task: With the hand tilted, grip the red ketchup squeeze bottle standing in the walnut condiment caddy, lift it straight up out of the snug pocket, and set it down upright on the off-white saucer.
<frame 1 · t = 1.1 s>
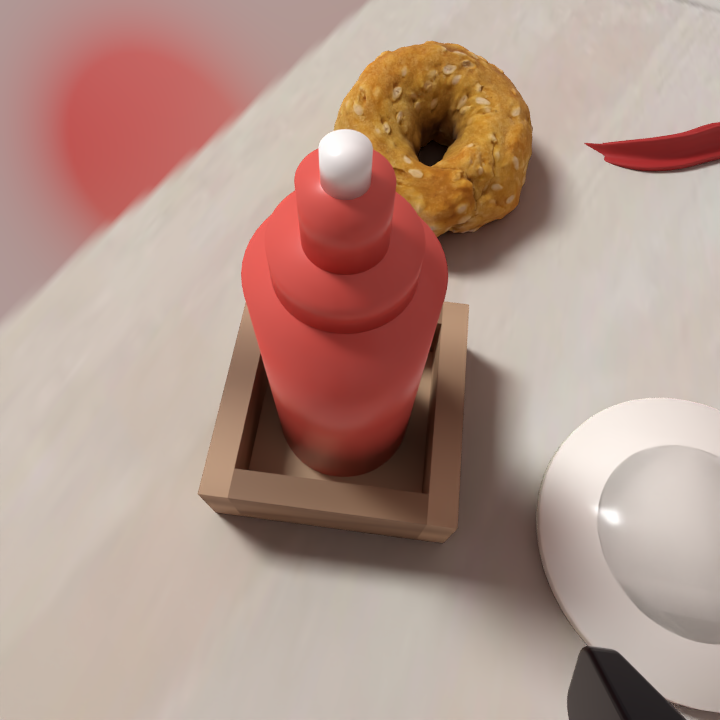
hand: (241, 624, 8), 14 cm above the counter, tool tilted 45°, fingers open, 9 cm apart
ketchup bottle: (344, 414, 23), point 1 cm above the counter, touching caddy
saucer: (682, 541, 22), on the counter
caddy: (344, 420, 24), on the counter
cayenne pepper: (685, 158, 31), on the counter
bagel: (423, 180, 30), on the counter
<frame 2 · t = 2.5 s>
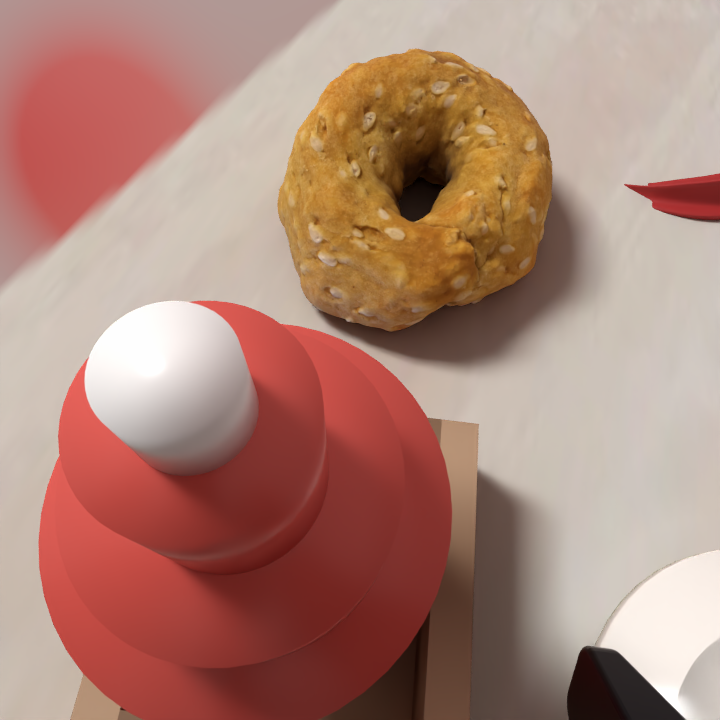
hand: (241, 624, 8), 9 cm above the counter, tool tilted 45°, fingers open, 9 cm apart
ketchup bottle: (301, 579, 16), point 1 cm above the counter, touching caddy
caddy: (303, 582, 17), on the counter
bagel: (409, 229, 23), on the counter
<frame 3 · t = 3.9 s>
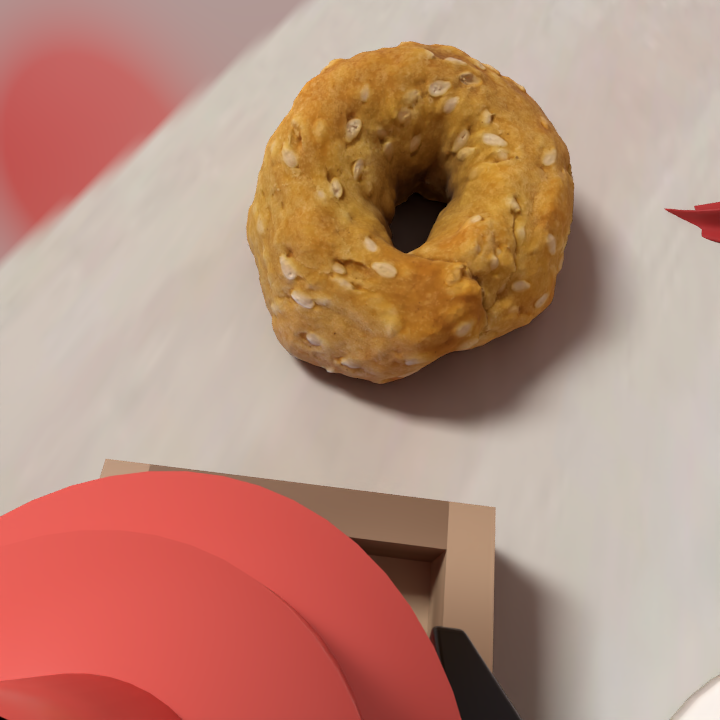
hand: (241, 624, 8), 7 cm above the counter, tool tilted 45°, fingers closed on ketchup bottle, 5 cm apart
ketchup bottle: (274, 697, 13), point 1 cm above the counter, touching caddy, gripper
caddy: (277, 695, 14), on the counter
bagel: (403, 255, 20), on the counter
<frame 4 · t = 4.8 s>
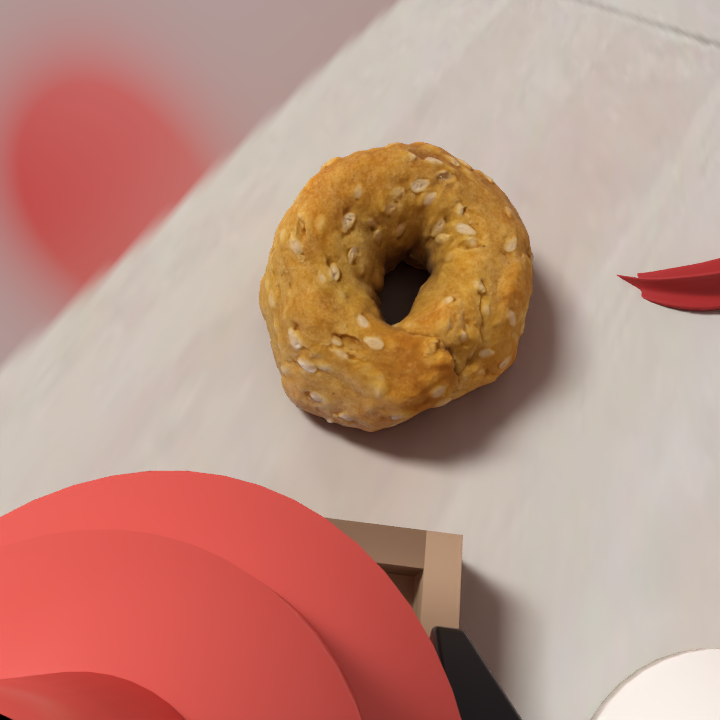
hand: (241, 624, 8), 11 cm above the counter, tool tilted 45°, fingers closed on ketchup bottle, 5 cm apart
ketchup bottle: (275, 697, 13), point 4 cm above the counter, touching gripper
caddy: (291, 682, 17), on the counter
bagel: (391, 314, 23), on the counter
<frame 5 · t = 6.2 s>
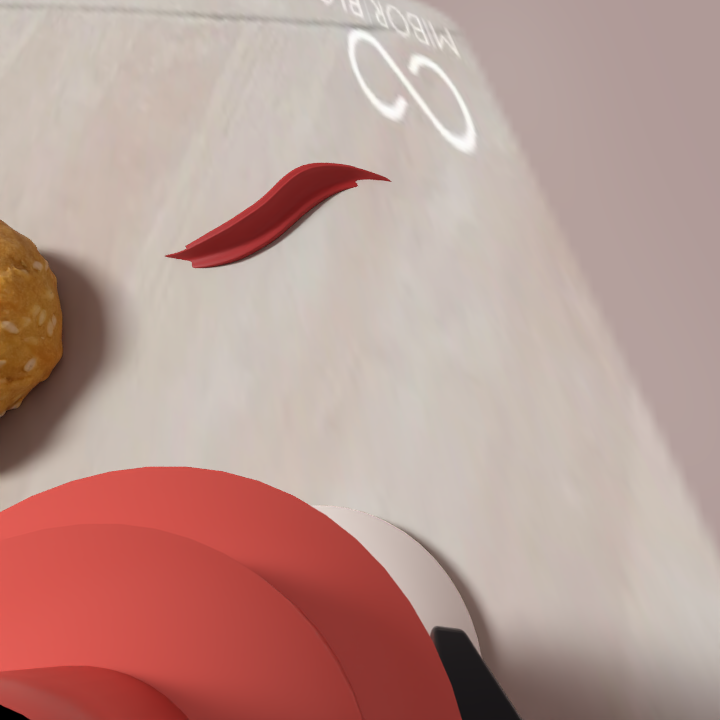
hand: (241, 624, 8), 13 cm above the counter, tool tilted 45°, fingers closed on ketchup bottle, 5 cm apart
ketchup bottle: (274, 695, 13), point 7 cm above the counter, touching gripper
saucer: (314, 677, 19), on the counter
cayenne pepper: (281, 220, 28), on the counter
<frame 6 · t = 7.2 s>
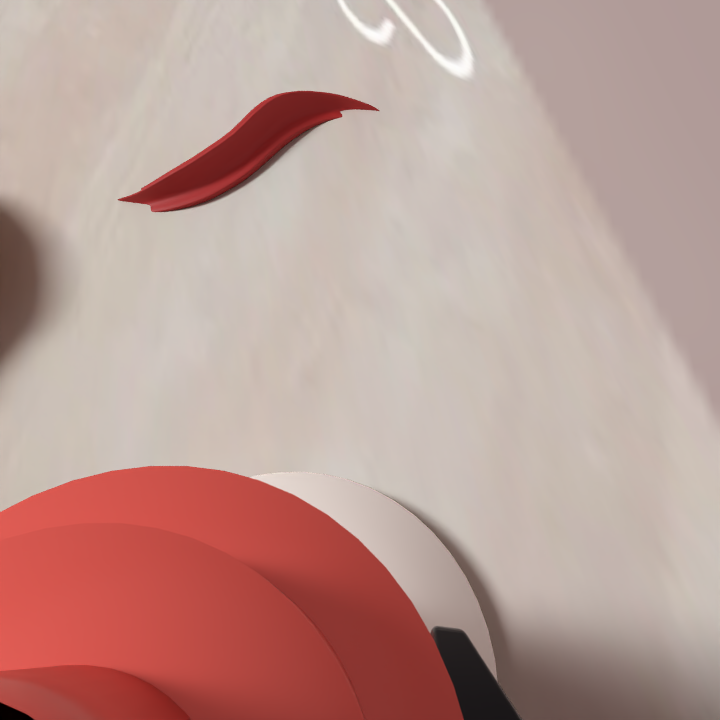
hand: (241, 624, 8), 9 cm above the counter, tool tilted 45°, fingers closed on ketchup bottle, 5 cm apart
ketchup bottle: (275, 695, 13), point 3 cm above the counter, touching gripper
saucer: (288, 680, 16), on the counter
cayenne pepper: (254, 158, 24), on the counter
when the fingers open (9 cm above the counter, at t = 7.8 s): ketchup bottle drops 1 cm, resting on saucer.
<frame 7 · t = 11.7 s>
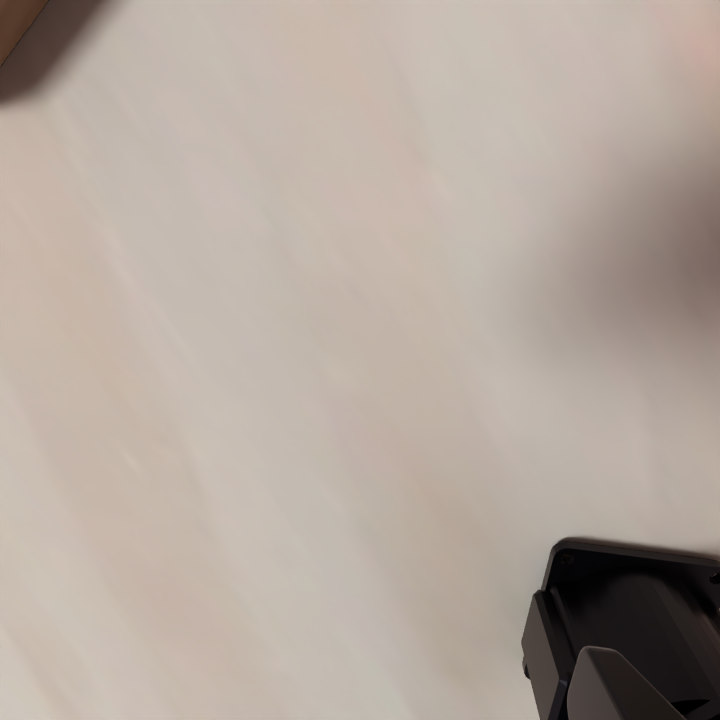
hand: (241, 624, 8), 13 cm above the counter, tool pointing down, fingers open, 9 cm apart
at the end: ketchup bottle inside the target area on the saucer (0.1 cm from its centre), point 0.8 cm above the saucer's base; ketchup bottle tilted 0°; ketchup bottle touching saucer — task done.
